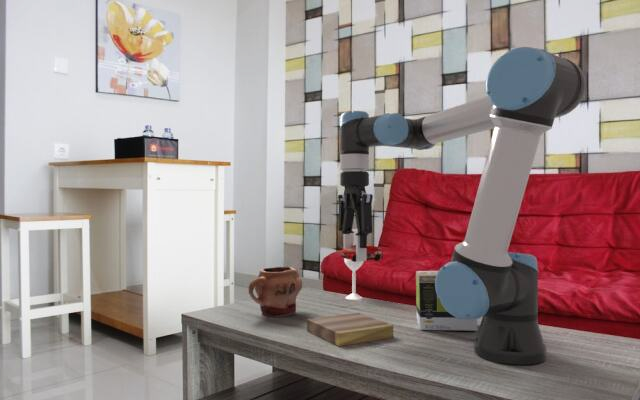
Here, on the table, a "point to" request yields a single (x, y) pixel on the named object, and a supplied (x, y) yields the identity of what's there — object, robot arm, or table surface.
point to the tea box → (435, 307)
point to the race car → (372, 253)
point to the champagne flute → (353, 271)
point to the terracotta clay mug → (276, 290)
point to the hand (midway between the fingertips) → (354, 259)
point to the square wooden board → (349, 329)
